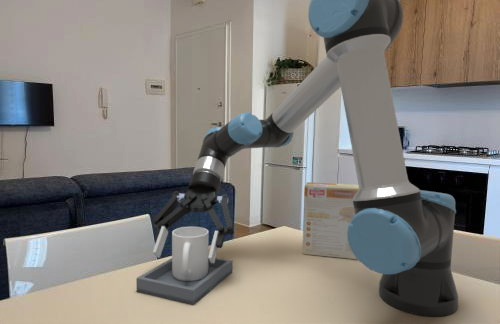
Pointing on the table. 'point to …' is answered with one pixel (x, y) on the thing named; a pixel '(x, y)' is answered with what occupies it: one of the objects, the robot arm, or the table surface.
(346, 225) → the coffeecake box
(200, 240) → the mug
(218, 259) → the tray
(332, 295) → the table surface
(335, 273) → the table surface
